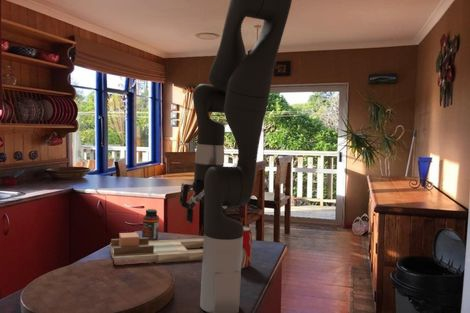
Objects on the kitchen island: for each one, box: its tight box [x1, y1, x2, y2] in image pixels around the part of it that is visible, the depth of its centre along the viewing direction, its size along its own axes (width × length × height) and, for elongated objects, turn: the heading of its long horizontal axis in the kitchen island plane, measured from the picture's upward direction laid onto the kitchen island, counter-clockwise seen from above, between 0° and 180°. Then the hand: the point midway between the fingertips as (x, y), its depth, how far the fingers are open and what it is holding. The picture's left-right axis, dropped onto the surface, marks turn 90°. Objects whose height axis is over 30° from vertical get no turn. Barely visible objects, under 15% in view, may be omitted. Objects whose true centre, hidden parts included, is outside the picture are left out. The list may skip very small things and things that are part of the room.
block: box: [118, 232, 140, 247], centre depth 126 cm, size 6×6×4 cm
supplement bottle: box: [141, 208, 160, 241], centre depth 146 cm, size 6×6×11 cm
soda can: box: [241, 225, 253, 269], centre depth 123 cm, size 7×7×12 cm
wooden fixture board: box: [109, 237, 204, 264], centre depth 131 cm, size 16×35×4 cm, turn 112°
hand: (205, 222), depth 104 cm, fingers open, 8 cm apart
